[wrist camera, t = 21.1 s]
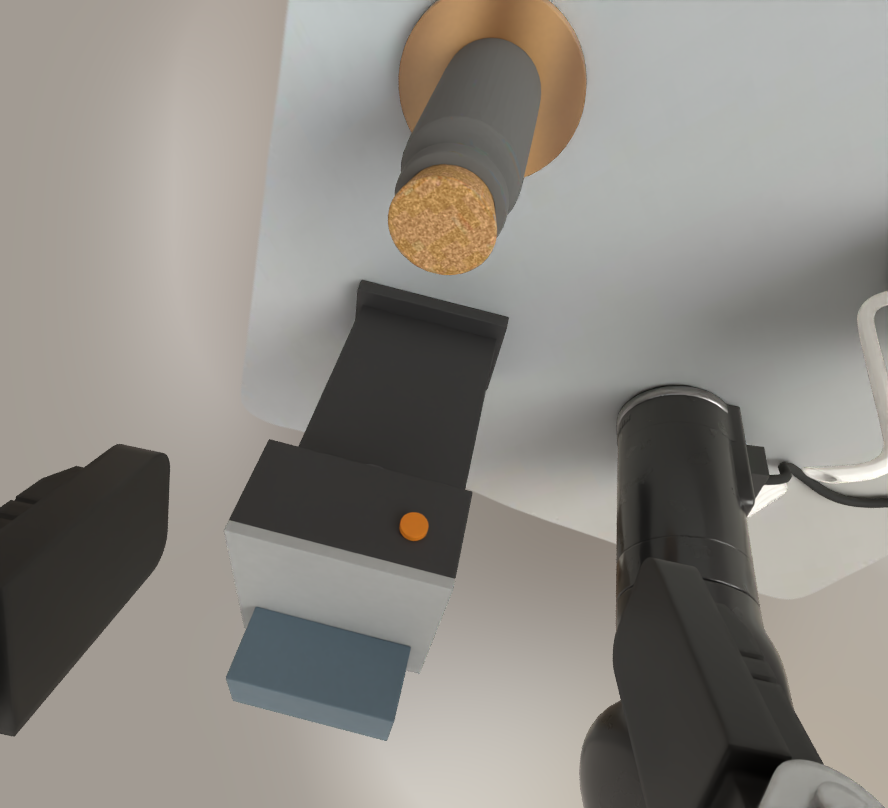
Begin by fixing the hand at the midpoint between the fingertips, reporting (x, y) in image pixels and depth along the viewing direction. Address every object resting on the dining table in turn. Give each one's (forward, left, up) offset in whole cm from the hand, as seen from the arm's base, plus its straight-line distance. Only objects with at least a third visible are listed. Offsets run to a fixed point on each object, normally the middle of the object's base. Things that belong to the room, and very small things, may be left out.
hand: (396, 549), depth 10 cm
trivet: (+3, +5, -34) cm, 34 cm away
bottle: (+3, +5, -33) cm, 34 cm away
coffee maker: (+7, +22, -34) cm, 41 cm away
